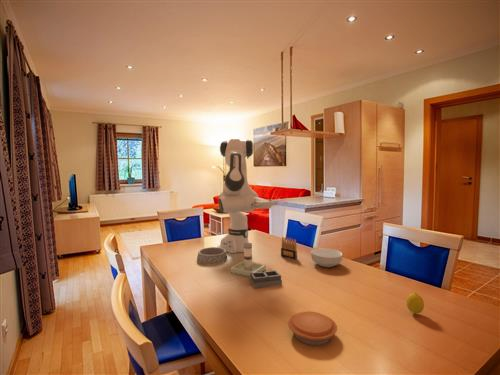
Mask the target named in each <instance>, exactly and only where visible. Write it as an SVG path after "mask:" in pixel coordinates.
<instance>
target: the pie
mask: <svg viewBox="0 0 500 375" xmlns="http://www.w3.org/2000/svg"><path fill="white" fill-rule="evenodd" d="M287 324H288V328H289V329H290V331H291V332H292V333H293V335H294V336H295V337H296V339H297V340H298V341H300V342H301V343H303V344H306V345H310V346H321V345H324V344H327V343H328V342H329V341H330V340H331V339H332V337H333V336H334V335H335V334H336V332H337V331H338V325H337V324H336V322H335V321H334V320H333V319H332V318H331V317H329V316H327V315H326V314H323V313H320V312H316V311H302V312H298V313H295V314H292V315H291V316H290V318H289V320H288V323H287Z"/></svg>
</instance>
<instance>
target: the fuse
mask: <svg viewBox="0 0 500 375" xmlns="http://www.w3.org/2000/svg"><path fill="white" fill-rule="evenodd" d="M243 258H244V260H243V261H244V270H247V271H252V263H253V243H252V242H249V243H244V252H243Z"/></svg>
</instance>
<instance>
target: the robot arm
mask: <svg viewBox="0 0 500 375" xmlns="http://www.w3.org/2000/svg"><path fill="white" fill-rule="evenodd" d="M219 152H220V156H222V157H223V158H224V161H225V164H226V165H227V166H228V167H229V170H228V172H227V173H226V174H225V176H224V177H225V179H224V185H223V190H222V191H221V192H220V194H219V196H218V200H217V202H218V208H219V210H220V211H221V212H223V213H226V214H227V213H228V215H229V221H230V227H229V228H228V229H227V232H228V233H227V234H226V235H225V236H223V237H222V238H221V240H220V244H219V245H217V247H218V248H223V249H225V251H226V253H230V254H235V253H236V254H237V253H244V243H250V242H249V228H248V216H247V215H246V214H245V213H247V212H248V213H251V212H254V210H257V209H259V210H260V209H261V210H263V209H265V210H270V209H272V207H274V206H277V205H278V202H277V201H272V200H271V199H267V198H266V199H265V198H262V197H259V195H258V193H257V192H256V191H255V190H253V189H252V188H251V186H250V184H249V181H248V171H247V170H248V169H247V160H246V159H248V160H249V158H250V157H252V156H253V153H254V152H255V145H254V142H253V141H252V139H251V140H250V139H240V138H236V137H233V138H230V139H229V140H224V141H222V142H221V143H220V146H219Z"/></svg>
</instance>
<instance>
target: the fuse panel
mask: <svg viewBox="0 0 500 375" xmlns="http://www.w3.org/2000/svg"><path fill="white" fill-rule="evenodd" d="M249 281H250V283H251V285H252V286H253V288H254V289H259V288H260V289H261V288H265V287H266V288H268V287H274V286H281V285H282V284H283V281H282V275H281V274H280V273H279V272H278V271H277V270H276V269H275V270H267V271H266V270H265V271H264V272H255V273H250V277H249Z"/></svg>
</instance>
